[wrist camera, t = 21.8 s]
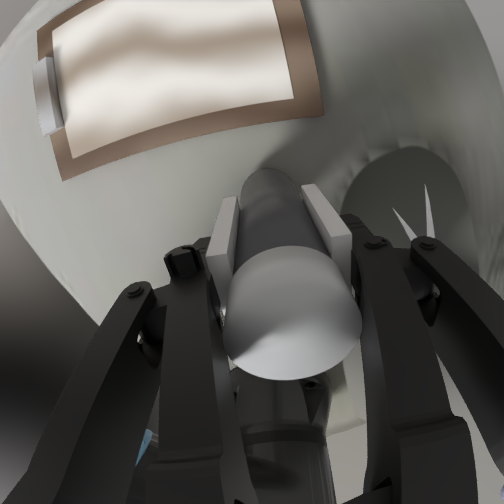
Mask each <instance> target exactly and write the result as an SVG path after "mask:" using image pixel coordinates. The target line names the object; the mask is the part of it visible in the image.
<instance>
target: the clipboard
mask: <svg viewBox="0 0 504 504" xmlns="http://www.w3.org/2000/svg"><path fill="white" fill-rule="evenodd" d="M37 43H38V60H39V62H37V63H36V64H35V65H33V66H32V76H33V85H34V92H35V99H36V106H37V112H38V117H39V122H40V127H41V132H42V137H43V136H47V135H50V137H51V141H52V146H53V150H54V153H55V157H56V161H57V165H58V168H59V172H60V175H61V178H62V182H63V181H65V180H67V179H69V178H72V177H74V176H77V175H79V174H81V173H84V172H86V171H89V170H92V169H94V168H97V167H99V166H102V165H105V164H107V163H110V162H113V161H116V160H119V159H122V158H125V157H127V156H130V155H134V154H137V153H140V152H143V151H146V150H149V149H153V148H156V147H160V146H163V145H167V144H170V143H174V142H178V141H181V140H185V139H189V138H193V137H197V136H202V135H206V134H210V133H215V132H219V131H224V130H229V129H234V128H239V127H245V126H250V125H256V124H262V123H269V122H276V121H283V120H290V119H299V118H308V117H318V116H324V110H323V103H322V97H321V91H320V86H319V80H318V75H317V70H316V65H315V60H314V55H313V51H312V46H311V42H310V37H309V33H308V29H307V25H306V21H305V17H304V13H303V10H302V6H301V2H300V0H83V1H81V2H79V3H77V4H76V5H74V6H72V7H71V8H69V9H68V10H66V11H64V12H63V13H61V14H60V15H58V16H57V17H55V18H54V19H52V20H51V21H50V22H48V23H47V24H45V25H44V26H43V27H41V28H40V29H39V30H37Z"/></svg>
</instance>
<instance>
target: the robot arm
mask: <svg viewBox="0 0 504 504" xmlns="http://www.w3.org/2000/svg"><path fill="white" fill-rule="evenodd" d="M301 189H302V197H303V203H304V204H305V206H306V208H307V210H308V212H309V214H310V216H311V218H312V220H313V222H314V224H315V226H316V228H317V230H318V232H319V234H320V236H321V238H322V240H323V242H324V244H325V246H326V248H327V250H328V252H329V254H330V256H331V259H332V260H333V261H334V262H335V263H336V264H337V265H338V267H339V268H340V270H341V272H342V274H343V276H344V278H345V280H346V282H347V284H348V286H349V288H350V290H351V288H352V286H353V288H354V290H355V301H356V303H357V306H358V308H359V310H360V313H361V316H362V332H361V335H360V343H361V352H362V361H363V371H364V383H365V395H366V414H367V443H368V444H367V447H368V459H367V468H366V473H365V479H364V488H363V494H362V495H360V496H358V497H356V498H354V499H352V500H349V501H347V502H345V503H343V504H478V490H477V478H476V469H475V460H474V454H473V447H472V441H471V436H470V431H469V428H468V425H467V422H466V421H465V420H464V419H463V417H459V416H454V414H453V413H452V411H451V408H450V404H449V399H448V395H447V391H446V387H445V383H444V380H443V376H442V373H441V370H440V366H439V362H438V359H437V356H436V353H437V354H438V356H439V358H440V360H441V361H442V363H443V365H444V366H445V368H446V370H447V371H448V373H449V375H450V376H451V378H452V380H453V382H454V383H455V385H456V387H457V388H458V390H459V392H460V394H461V396H462V398H463V399H464V401H465V403H466V405H467V407H468V409H469V411H470V413H471V415H472V417H473V419H474V421H475V423H476V425H477V427H478V429H479V431H480V433H481V435H482V437H483V439H484V442H485V444H486V446H487V448H488V451H489V453H490V455H491V457H492V459H493V461H494V463H495V464H496V466H497V467H498V469H499V470H500V472H501V473H502V474H503V476H504V300H503V299H502V298H501V297H500V296H499V295H498V294H497V293H496V292H495V291H494V290H493V289H492V288H491V287H490V286H489V285H488V284H487V283H486V282H485V281H484V280H483V279H482V278H481V277H480V276H479V275H478V274H477V273H475V272H474V271H473V270H472V269H471V268H470V267H469V266H468V265H467V264H466V263H465V262H463V261H462V260H461V259H460V258H459V257H458V256H457V255H456V254H454V253H453V252H452V251H451V250H450V249H449V248H447V247H446V246H445V245H444V244H443V243H441V242H440V241H439V240H437V239H435V238H432V237H429V236H422V237H417V238H414V239H413V240H412V241H411V249H402V248H393V247H392V245H391V243H390V242H389V241H388V240H387V239H385V238H383V237H379V236H374V235H373V234H372V233H371V232H370V230H369V229H368V228H367V227H366V226H365V225H364V223H362V221H361V220H360V219H359V218H358V217H357V216H354V215H352V214H345V215H338V214H337V212H336V211H335V210H334V208H333V207H332V206H331V205H330V203H329V202H328V201H327V199H326V198H325V197H324V195H323V194H322V193H321V192H320V190H319V189H318V188H317V186H316V185H315V184H308V185H301ZM239 215H240V209H239V204H238V199H237V196H233V197H228V198H223V201H222V205H221V208H220V211H219V214H218V217H217V220H216V224H215V227H214V230H213V233H212V236H211V237H206V238H200V239H198V240H197V241H196V242H195V243H194V244H193V245H184V246H180V247H177V248H175V249H173V250H171V251H169V252H168V253H167V254H166V255H165V257H164V261H165V264H166V267H167V269H168V272H169V274H170V277H171V280H170V284H168V285H166V286H163V287H160V288H157V289H154V290H153V289H152V287H151V284H150V283H149V282H146V281H141V282H135V283H133V284H131V285H129V286H128V287H127V288H125V289H124V290H123V291H122V292H121V294H120V295H119V297H118V298H117V300H116V301H115V303H114V305H113V306H112V308H111V309H110V311H109V312H108V314H107V315H106V317H105V319H104V320H103V322H102V323H101V325H100V327H99V328H98V330H97V332H96V333H95V335H94V337H93V338H92V340H91V341H90V343H89V345H88V347H87V348H86V350H85V352H84V354H83V355H82V357H81V359H80V360H79V362H78V364H77V366H76V368H75V369H74V371H73V373H72V375H71V377H70V378H69V380H68V382H67V384H66V386H65V388H64V390H63V392H62V394H61V396H60V398H59V400H58V402H57V404H56V406H55V408H54V410H53V412H52V414H51V416H50V418H49V420H48V422H47V424H46V427H45V429H44V431H43V433H42V436H41V438H40V440H39V442H38V445H37V447H36V450H35V452H34V454H33V457H32V459H31V462H30V465H29V467H28V470H27V472H26V473H25V474H24V476H23V477H22V478H21V479H20V481H19V482H18V483H17V485H16V486H15V487H14V489H13V490H12V491H11V492H10V494H9V495H8V496H7V498H6V499H5V501H4V502H3V503H2V504H337V503H336V496H335V490H334V484H333V477H332V471H331V465H330V459H329V454H328V449H327V442H326V428H327V423H328V417H329V412H330V406H331V400H332V391H331V386H330V382H329V378H328V376H327V375H326V373H325V372H322V373H319V374H317V375H313V376H310V377H306V378H301V379H295V380H272V379H266V378H262V377H258V376H255V375H253V374H250V373H248V372H246V371H244V370H243V369H241V368H240V367H239V368H236V369H235V370H233V371H231V372H230V368H229V362H228V355H227V353H226V350H225V348H224V344H223V330H224V329H223V322H222V319H221V316H220V306H221V309H222V312H223V315H225V311H226V302H227V294H228V288H229V285H230V282H231V280H232V278H233V270H234V260H235V251H236V242H237V232H238V223H239ZM436 286H437V287H438V289H439V291H440V295H439V296H438V295H437V294H436V292H435V289H436ZM138 334H139V335H140V337H141V339H140V341H139V342H137V338H138ZM435 352H436V353H435ZM159 386H160V398H159V434H158V435H157V434H153V433H152V431H150V430H147V429H146V427H147V424H148V421H149V417H150V414H151V411H152V408H153V405H154V401H155V398H156V395H157V392H158V389H159ZM500 495H501V498H502V499H503V500H504V486H503V487H502V489H501V493H500Z"/></svg>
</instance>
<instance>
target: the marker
mask: <svg viewBox="0 0 504 504" xmlns="http://www.w3.org/2000/svg"><path fill="white" fill-rule="evenodd" d="M361 332H362V316H361V313H360V310H359V308H358V306H357V303H356V301H355V299H354V297H353V295H352V293H351V290H350V288H349V286H348V284H347V282H346V280H345V278H344V276H343V274H342V272H341V270H340V268H339V267H338V265H337V264H336V263H335V262H334V261H333V260H332V259H331V256H330V254H329V252H328V250H327V248H326V246H325V244H324V242H323V240H322V238H321V236H320V234H319V232H318V230H317V228H316V226H315V224H314V222H313V220H312V218H311V216H310V214H309V212H308V210H307V208H306V206H305V204H304V203H303V200H302V198H301V197H300V195H299V193H298V191H297V189H296V187H295V186H294V184H293V182H292V180H291V179H290V178H289V177H288V176H287V175H286V174H285V173H283V172H281V171H279V170H276V169H262V170H258V171H256V172H254V173H253V174H251V175H250V176H249V177H248V178H247V180H246V181H245V183H244V185H243V187H242V192H241V200H240V215H239V223H238V232H237V242H236V251H235V260H234V270H233V278H232V280H231V282H230V285H229V288H228V294H227V302H226V311H225V320H224V330H223V344H224V348H225V350H226V353H227V354H228V356H229V358H230V359H231V360H232V361H233V362H234V363H235V364H236V365H237V366H238V367H240V368H241V369H243V370H244V371H246V372H248V373H250V374H253V375H255V376H258V377H262V378H266V379H272V380H295V379H301V378H306V377H310V376H313V375H317V374H319V373H322V372H324V371H326V370H328V369H330V368H332V367H333V366H335V365H337V364H338V363H339V362H341V361H342V360H343V359H344V358H345V357H346V356H348V355H349V353H350V352H351V351H352V350H353V349H354V347H355V346H356V344H357V342H358V340H359V338H360V335H361Z"/></svg>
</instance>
